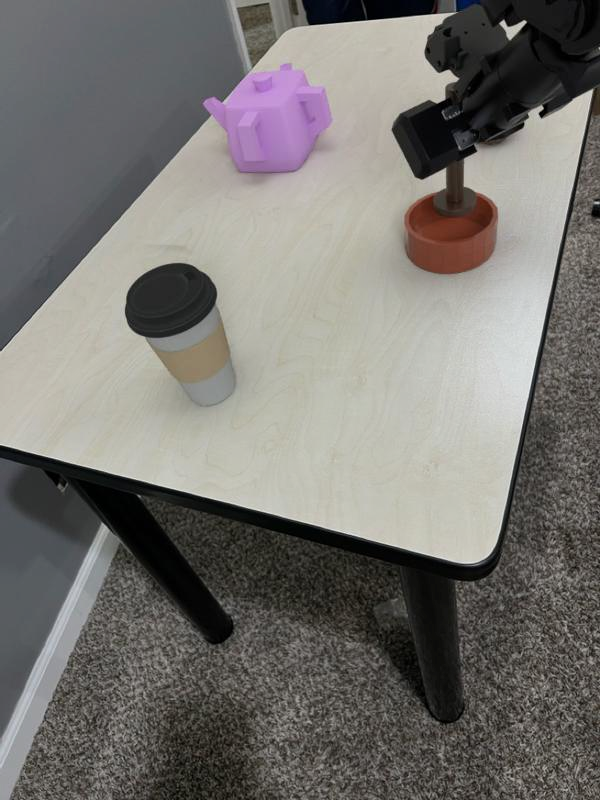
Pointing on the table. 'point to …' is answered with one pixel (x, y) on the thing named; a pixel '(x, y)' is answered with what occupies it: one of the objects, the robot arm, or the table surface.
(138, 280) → the coffee cup
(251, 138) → the teakettle
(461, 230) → the bowl
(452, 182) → the dark brown rod
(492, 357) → the table surface
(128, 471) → the table surface
